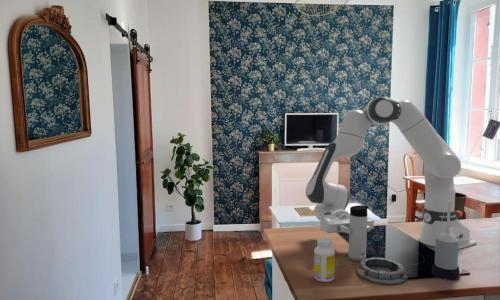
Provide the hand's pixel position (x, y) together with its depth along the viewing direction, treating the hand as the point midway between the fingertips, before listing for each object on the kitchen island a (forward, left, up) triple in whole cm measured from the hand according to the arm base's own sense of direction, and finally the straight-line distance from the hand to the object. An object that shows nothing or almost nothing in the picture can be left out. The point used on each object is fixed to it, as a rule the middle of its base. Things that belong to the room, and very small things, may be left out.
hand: (359, 230), depth 136 cm
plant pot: (-62, -21, -11) cm, 66 cm away
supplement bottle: (+20, +10, -11) cm, 25 cm away
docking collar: (0, +13, -11) cm, 17 cm away
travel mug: (0, -1, -11) cm, 11 cm away
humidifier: (-20, +20, -11) cm, 31 cm away
